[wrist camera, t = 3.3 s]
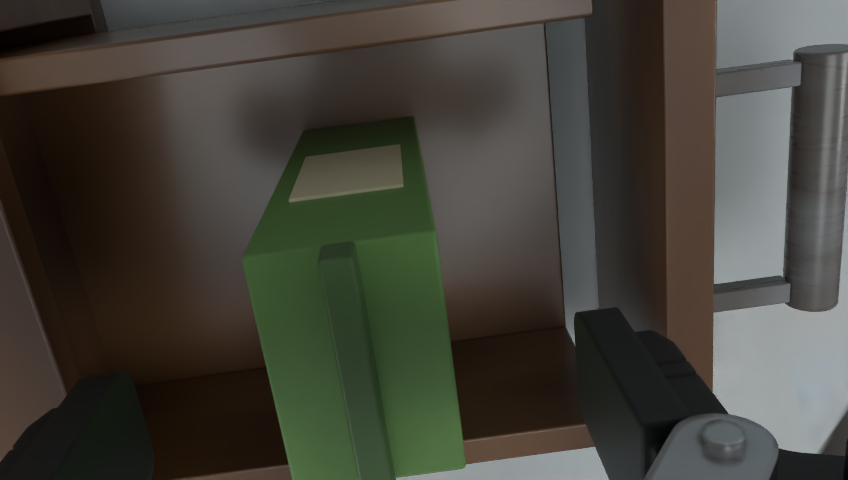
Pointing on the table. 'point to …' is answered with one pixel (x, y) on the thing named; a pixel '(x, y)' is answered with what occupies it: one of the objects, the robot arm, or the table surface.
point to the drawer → (447, 183)
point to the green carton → (356, 309)
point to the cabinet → (32, 252)
